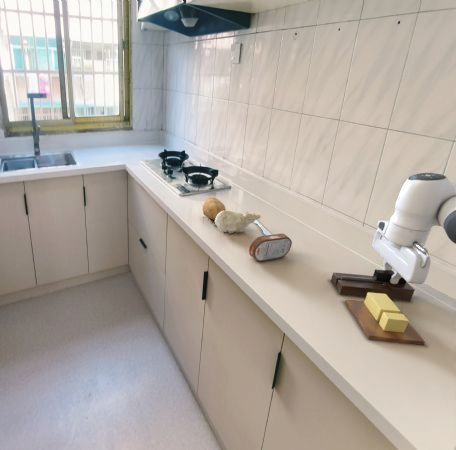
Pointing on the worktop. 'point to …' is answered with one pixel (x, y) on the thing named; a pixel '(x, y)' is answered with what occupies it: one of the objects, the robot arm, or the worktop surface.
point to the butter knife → (262, 227)
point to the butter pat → (393, 322)
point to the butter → (380, 305)
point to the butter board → (375, 330)
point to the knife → (375, 277)
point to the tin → (270, 247)
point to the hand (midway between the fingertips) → (389, 279)
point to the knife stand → (371, 287)
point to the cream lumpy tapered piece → (234, 221)
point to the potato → (212, 207)
